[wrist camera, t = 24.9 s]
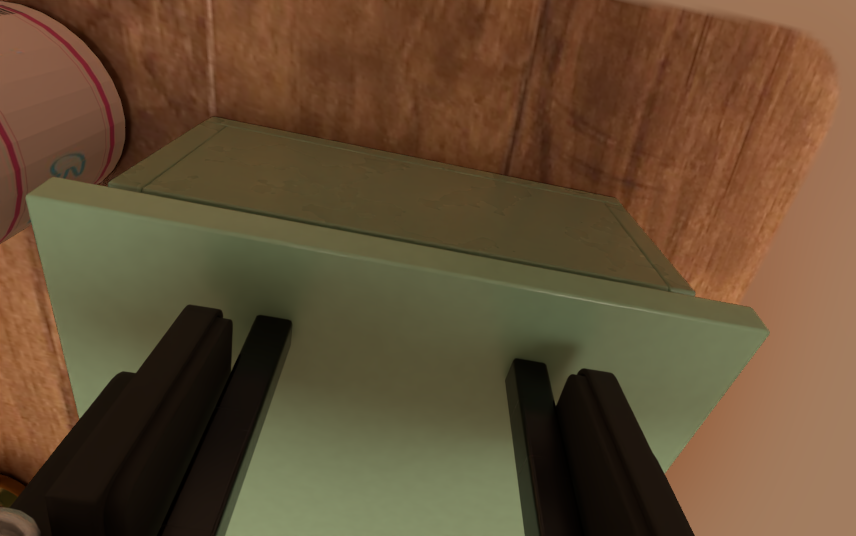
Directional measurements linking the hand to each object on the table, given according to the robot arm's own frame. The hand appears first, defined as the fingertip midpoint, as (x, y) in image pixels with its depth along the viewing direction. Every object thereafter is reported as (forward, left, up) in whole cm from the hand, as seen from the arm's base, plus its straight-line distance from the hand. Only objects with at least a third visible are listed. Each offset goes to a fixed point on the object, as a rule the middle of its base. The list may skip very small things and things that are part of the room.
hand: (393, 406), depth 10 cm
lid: (+5, 0, -2) cm, 6 cm away
